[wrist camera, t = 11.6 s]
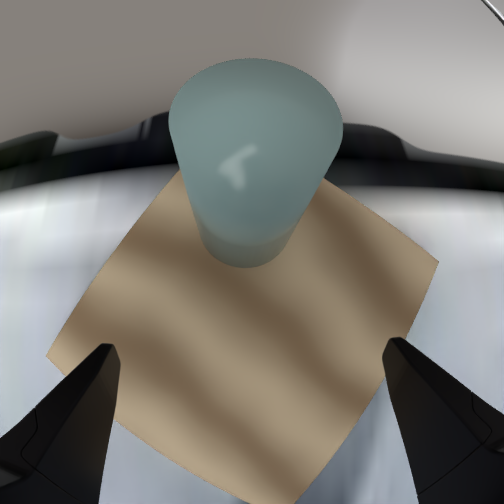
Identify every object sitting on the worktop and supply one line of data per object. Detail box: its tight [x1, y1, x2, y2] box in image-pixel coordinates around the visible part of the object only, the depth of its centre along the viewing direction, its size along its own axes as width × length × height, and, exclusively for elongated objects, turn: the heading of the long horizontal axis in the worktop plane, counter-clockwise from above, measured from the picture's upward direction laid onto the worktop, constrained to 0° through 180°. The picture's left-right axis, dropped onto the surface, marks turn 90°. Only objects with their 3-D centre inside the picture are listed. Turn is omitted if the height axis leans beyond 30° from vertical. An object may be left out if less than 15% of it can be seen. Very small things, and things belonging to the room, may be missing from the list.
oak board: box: [46, 170, 439, 504], centre depth 18 cm, size 20×18×2 cm
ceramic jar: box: [169, 59, 343, 268], centre depth 14 cm, size 6×6×10 cm
